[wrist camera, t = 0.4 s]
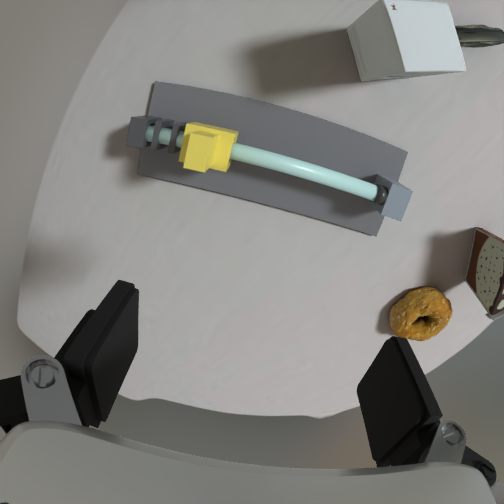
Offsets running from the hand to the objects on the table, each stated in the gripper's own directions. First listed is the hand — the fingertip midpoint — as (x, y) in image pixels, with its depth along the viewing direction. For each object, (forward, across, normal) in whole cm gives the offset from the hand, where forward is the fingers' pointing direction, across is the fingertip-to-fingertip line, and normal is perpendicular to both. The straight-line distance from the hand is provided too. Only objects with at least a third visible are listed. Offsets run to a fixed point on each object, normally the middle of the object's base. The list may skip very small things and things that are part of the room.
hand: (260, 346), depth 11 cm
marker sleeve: (+26, +7, -3) cm, 27 cm away
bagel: (+30, -29, +14) cm, 44 cm away
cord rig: (+29, 0, -3) cm, 29 cm away
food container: (+29, -37, +1) cm, 47 cm away
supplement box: (+29, -10, -20) cm, 36 cm away
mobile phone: (+29, -21, -28) cm, 46 cm away
